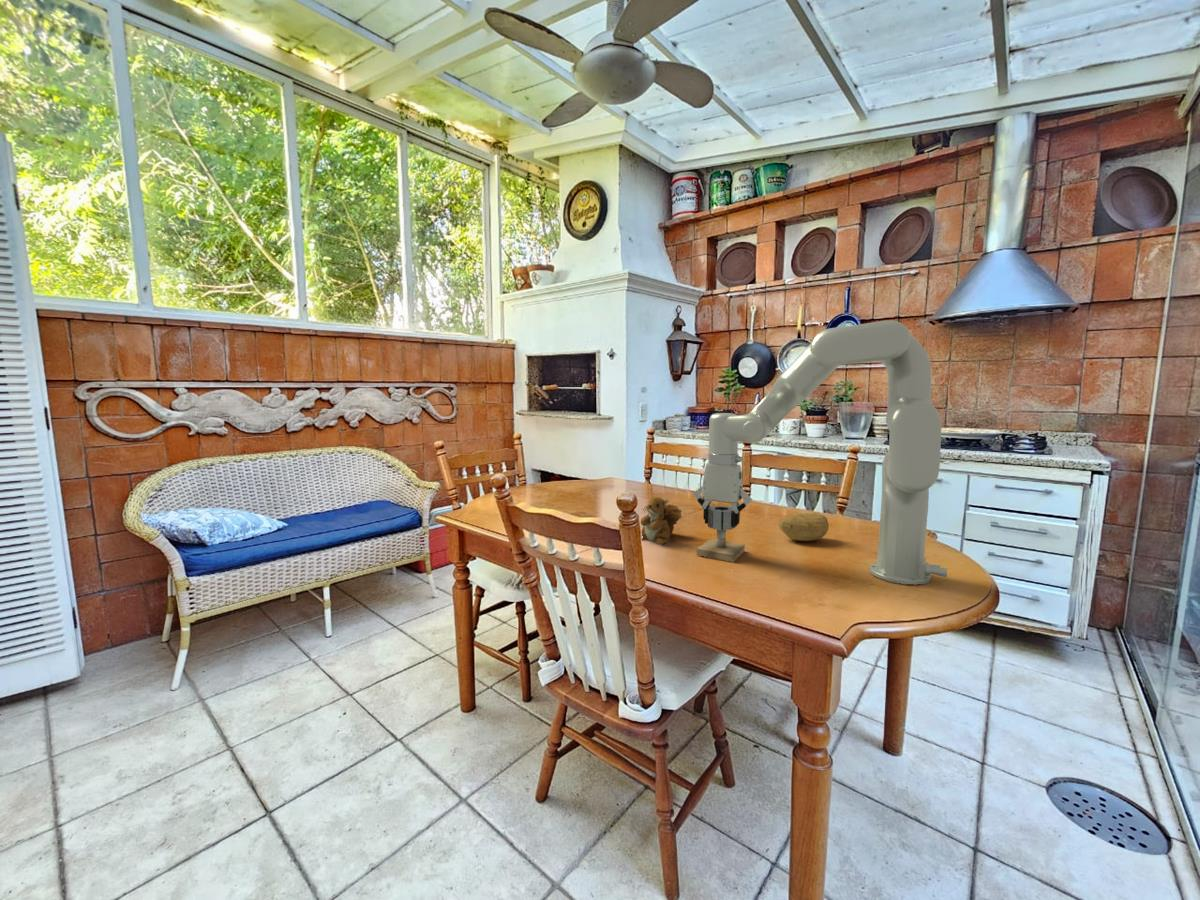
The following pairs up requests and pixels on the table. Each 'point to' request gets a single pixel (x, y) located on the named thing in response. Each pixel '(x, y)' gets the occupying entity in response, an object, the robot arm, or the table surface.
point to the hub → (720, 517)
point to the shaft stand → (721, 548)
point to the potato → (804, 526)
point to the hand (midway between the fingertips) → (721, 523)
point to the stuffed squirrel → (659, 520)
